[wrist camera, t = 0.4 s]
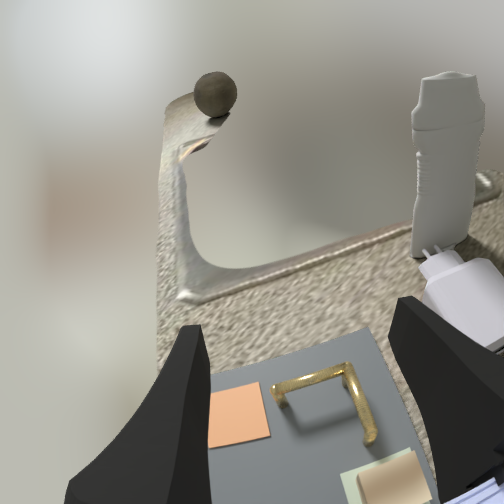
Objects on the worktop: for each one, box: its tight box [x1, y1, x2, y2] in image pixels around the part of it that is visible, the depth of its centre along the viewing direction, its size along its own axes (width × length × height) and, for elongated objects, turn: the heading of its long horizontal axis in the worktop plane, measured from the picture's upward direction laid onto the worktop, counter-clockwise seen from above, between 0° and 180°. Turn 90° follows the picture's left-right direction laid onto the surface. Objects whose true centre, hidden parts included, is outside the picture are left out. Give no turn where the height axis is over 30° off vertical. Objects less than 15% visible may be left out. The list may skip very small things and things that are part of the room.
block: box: [355, 450, 432, 504], centre depth 16 cm, size 4×4×5 cm
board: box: [208, 327, 440, 504], centre depth 23 cm, size 20×18×1 cm
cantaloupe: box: [194, 72, 237, 117], centre depth 93 cm, size 14×14×15 cm
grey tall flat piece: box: [410, 71, 485, 259], centre depth 29 cm, size 11×4×22 cm, turn 101°
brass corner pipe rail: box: [270, 361, 378, 447], centre depth 23 cm, size 7×7×4 cm
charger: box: [418, 245, 504, 355], centre depth 28 cm, size 5×9×15 cm
